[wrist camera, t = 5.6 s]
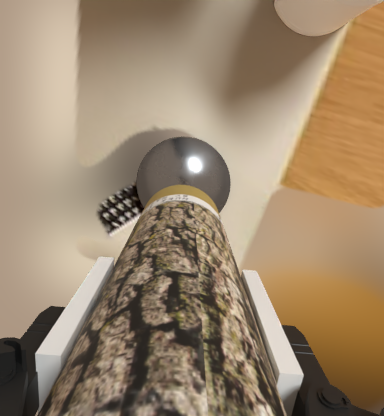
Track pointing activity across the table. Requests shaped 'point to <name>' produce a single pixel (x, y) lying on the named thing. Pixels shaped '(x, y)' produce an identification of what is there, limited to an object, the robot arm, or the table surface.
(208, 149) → the stand
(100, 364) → the paper tube
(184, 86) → the table surface
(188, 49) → the table surface
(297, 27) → the jar
